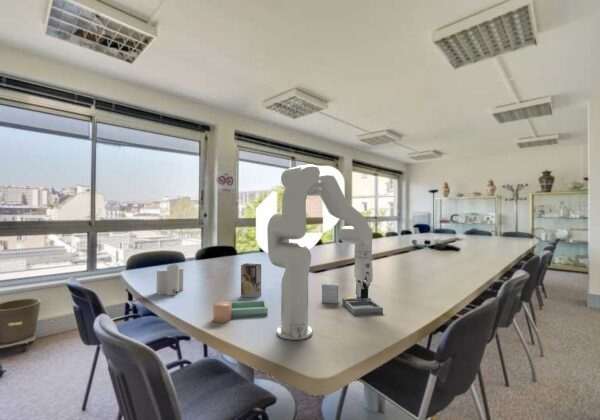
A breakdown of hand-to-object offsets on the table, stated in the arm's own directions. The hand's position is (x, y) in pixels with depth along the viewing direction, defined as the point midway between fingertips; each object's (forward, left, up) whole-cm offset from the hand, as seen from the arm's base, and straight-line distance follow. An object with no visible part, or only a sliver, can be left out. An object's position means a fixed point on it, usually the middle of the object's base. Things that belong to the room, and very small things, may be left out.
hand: (361, 296), depth 127 cm
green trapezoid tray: (+6, +49, -6) cm, 50 cm away
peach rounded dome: (-1, +59, -6) cm, 59 cm away
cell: (0, 0, -2) cm, 2 cm away
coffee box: (+31, +47, -6) cm, 57 cm away
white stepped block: (+42, +88, -7) cm, 97 cm away
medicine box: (+14, +10, -7) cm, 19 cm away
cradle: (+2, -1, -6) cm, 7 cm away
